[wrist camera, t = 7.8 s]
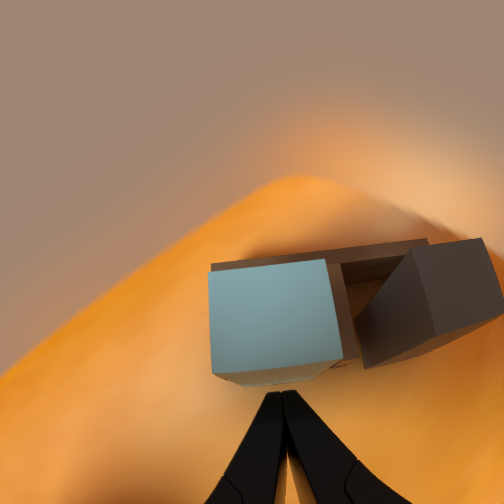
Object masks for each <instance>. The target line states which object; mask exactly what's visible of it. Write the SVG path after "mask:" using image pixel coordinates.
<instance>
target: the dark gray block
mask: <svg viewBox="0 0 504 504" xmlns="http://www.w3.org/2000/svg"><path fill="white" fill-rule="evenodd" d="M503 314H504V297H503V294H502V291H501V288H500V285H499V282H498V279H497V276H496V273H495V270H494V268H493V265H492V262H491V260H490V257H489V254H488V252H487V249H486V247H485V245H484V242H483V240H482V238H476V239H469V240H462V241H455V242H448V243H441V244H434V245H427V246H420V247H412V248H410V250H409V251H408V252H407V254H406V255H405V256H404V258H403V259H402V261H401V262H400V263H399V265H398V266H397V267H396V269H395V270H394V271H393V273H392V274H391V275H390V276H389V278H388V279H387V280H386V282H385V283H384V284H383V285H382V287H381V288H380V289H379V291H378V292H377V293H376V294H375V295H374V297H373V298H372V299H371V300H370V302H369V303H368V304H367V305H366V306H365V308H364V309H363V310H362V311H361V312H360V314H359V315H358V316H357V317H356V323H357V328H358V333H359V339H360V344H361V350H362V356H363V362H364V368H365V369H369V368H374V367H378V366H382V365H386V364H390V363H394V362H398V361H402V360H406V359H409V358H413V357H417V356H420V355H422V354H425V353H427V352H429V351H432V350H434V349H436V348H438V347H441V346H443V345H445V344H447V343H449V342H451V341H454V340H456V339H458V338H460V337H462V336H464V335H466V334H468V333H470V332H472V331H474V330H476V329H477V328H479V327H481V326H483V325H485V324H487V323H489V322H490V321H492V320H494V319H496V318H497V317H499V316H501V315H503Z"/></svg>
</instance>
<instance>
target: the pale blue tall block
mask: <svg viewBox="0 0 504 504" xmlns="http://www.w3.org/2000/svg"><path fill="white" fill-rule="evenodd" d="M208 286H209V318H210V342H211V361H212V373H213V374H215V375H217V376H220V377H222V378H224V379H227V380H229V381H231V382H234V383H236V384H239V385H241V386H244V387H249V386H260V385H270V384H279V383H288V382H296V381H303V380H310V379H312V378H314V377H315V376H317V375H319V374H320V373H322V372H323V371H325V370H326V369H328V368H329V367H331V366H332V365H334V364H335V363H337V362H338V361H340V360H341V359H343V352H342V346H341V340H340V334H339V328H338V323H337V317H336V312H335V306H334V301H333V296H332V291H331V286H330V281H329V276H328V272H327V267H326V262H325V259H319V260H310V261H302V262H294V263H285V264H276V265H268V266H259V267H250V268H241V269H232V270H223V271H214V272H208Z"/></svg>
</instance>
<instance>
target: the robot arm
mask: <svg viewBox="0 0 504 504" xmlns="http://www.w3.org/2000/svg"><path fill="white" fill-rule="evenodd" d="M287 453H288V459H289V463H290V467H291V471H292V475H293V479H294V482H295V486H296V490H297V494H298V498H299V501H300V504H412V503H411V502H409V501H408V500H406V499H405V498H404V497H402V496H401V495H399V494H398V493H396V492H395V491H394V490H392V489H391V488H390V487H388V486H387V485H386V484H384V483H383V482H382V481H381V480H379V479H378V478H377V477H376V476H375V475H374V474H373V473H372V472H371V471H370V470H369V469H367V468H366V467H365V466H364V464H363V463H362V462H361V461H360V460H357V457H356V456H355V455H354V454H353V453H352V452H351V451H350V450H349V449H348V448H347V447H346V446H345V445H344V444H343V442H342V441H341V440H340V439H339V438H338V437H337V436H336V435H335V434H334V433H333V432H332V430H331V429H330V428H329V427H328V426H327V425H326V424H325V423H324V422H323V421H322V419H321V418H320V417H319V416H318V415H317V414H316V413H315V412H314V410H313V409H312V408H311V407H310V406H309V405H308V404H307V402H306V401H305V400H304V399H303V398H302V397H301V396H300V394H299V393H298V392H297V391H296V390H286V391H282V393H281V392H279V391H277V392H268V393H267V394H266V395H265V397H264V399H263V401H262V403H261V405H260V407H259V409H258V411H257V413H256V415H255V417H254V419H253V421H252V423H251V425H250V427H249V429H248V430H247V432H246V434H245V436H244V438H243V440H242V442H241V443H240V445H239V447H238V449H237V451H236V453H235V454H234V456H233V458H232V460H231V461H230V463H229V465H228V467H227V468H226V470H225V472H224V474H223V475H224V476H222V477H221V479H220V480H219V482H218V484H217V485H216V487H215V488H214V490H213V491H212V493H211V494H210V496H209V497H208V499H207V500H206V501H205V503H204V504H285V494H286V477H287Z"/></svg>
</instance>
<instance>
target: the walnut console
mask: <svg viewBox="0 0 504 504" xmlns="http://www.w3.org/2000/svg"><path fill="white" fill-rule="evenodd" d="M427 245H429V243H428V241H427V238H424V239H416V240H408V241H400V242H392V243H384V244H375V245H367V246H359V247H351V248H342V249H334V250H325V251H317V252H308V253H300V254H291V255H283V256H274V257H265V258H256V259H248V260H239V261H230V262H221V263H212V264H211V272H214V271H223V270H232V269H241V268H250V267H259V266H268V265H276V264H285V263H294V262H302V261H310V260H319V259H325V262H326V267H327V272H328V276H329V281H330V286H331V291H332V296H333V301H334V306H335V312H336V317H337V323H338V328H339V334H340V340H341V346H342V352H343V359H341V360H340V361H338V362H337V363H335V364H334V365H332V366H331V367H330V369H331V368H337V367H342V366H346V365H347V364H349V363H351V362H353V361H354V360H356V359H358V358H359V355H358V349H357V343H356V338H355V332H354V327H353V322H352V317H351V312H350V307H349V302H348V297H347V292H346V288H345V284H352V283H359V282H365V281H372V280H378V279H384V278H389V276H390V275H391V274H392V273H393V271H394V270H395V269H396V267H397V266H398V265H399V263H400V262H401V261H402V259H403V258H404V256H405V255H406V254H407V252H408V251H409V250H410V248H412V247H420V246H427ZM216 376H217V375H216ZM217 377H220V376H217ZM220 378H222V377H220ZM222 379H224V378H222ZM224 380H227V379H224ZM227 381H228V380H227Z"/></svg>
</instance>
